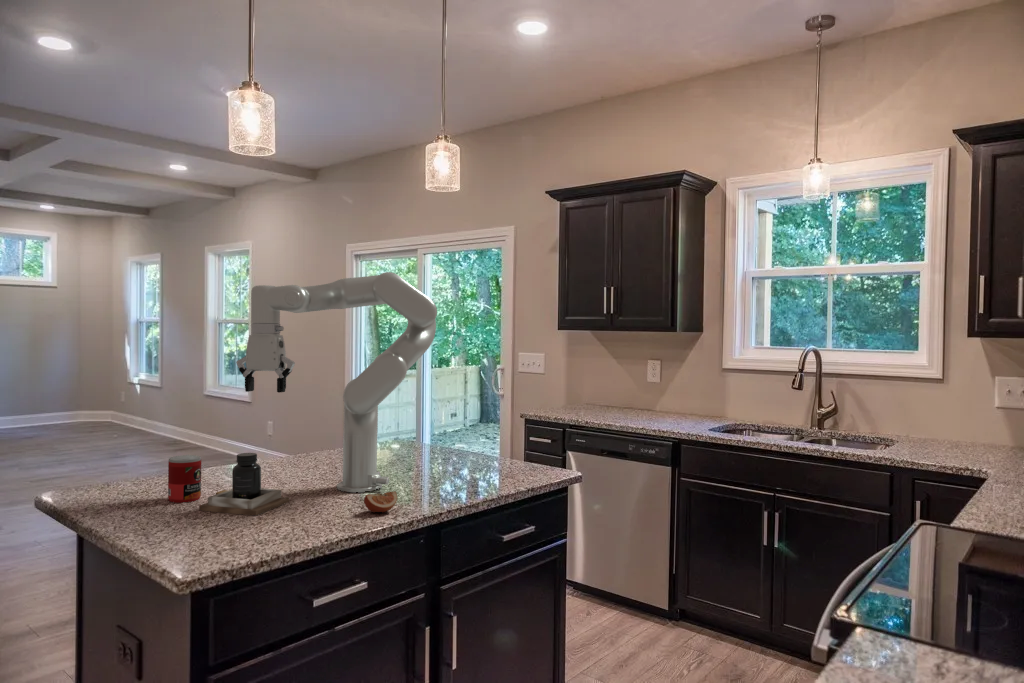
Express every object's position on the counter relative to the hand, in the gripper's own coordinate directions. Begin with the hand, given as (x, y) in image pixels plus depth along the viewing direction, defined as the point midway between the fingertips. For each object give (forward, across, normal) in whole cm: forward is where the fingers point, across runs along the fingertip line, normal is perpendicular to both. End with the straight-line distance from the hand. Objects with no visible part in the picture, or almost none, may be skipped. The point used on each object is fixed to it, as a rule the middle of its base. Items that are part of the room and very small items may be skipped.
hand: (265, 391), depth 185 cm
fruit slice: (+28, -40, +12) cm, 50 cm away
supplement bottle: (+27, -5, +16) cm, 31 cm away
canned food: (+28, +14, +14) cm, 34 cm away
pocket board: (+28, -4, +16) cm, 32 cm away
